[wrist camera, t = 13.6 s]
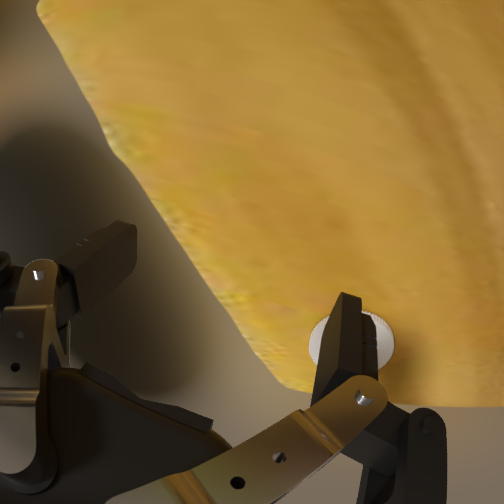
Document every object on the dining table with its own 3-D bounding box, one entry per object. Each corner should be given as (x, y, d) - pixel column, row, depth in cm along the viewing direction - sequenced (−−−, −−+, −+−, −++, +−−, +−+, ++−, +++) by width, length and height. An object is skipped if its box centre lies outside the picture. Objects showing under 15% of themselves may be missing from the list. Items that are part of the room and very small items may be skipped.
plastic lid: (323, 296, 48) (321, 307, 46) (406, 316, 45) (408, 327, 43) (302, 357, 55) (299, 367, 53) (374, 373, 53) (374, 383, 50)
